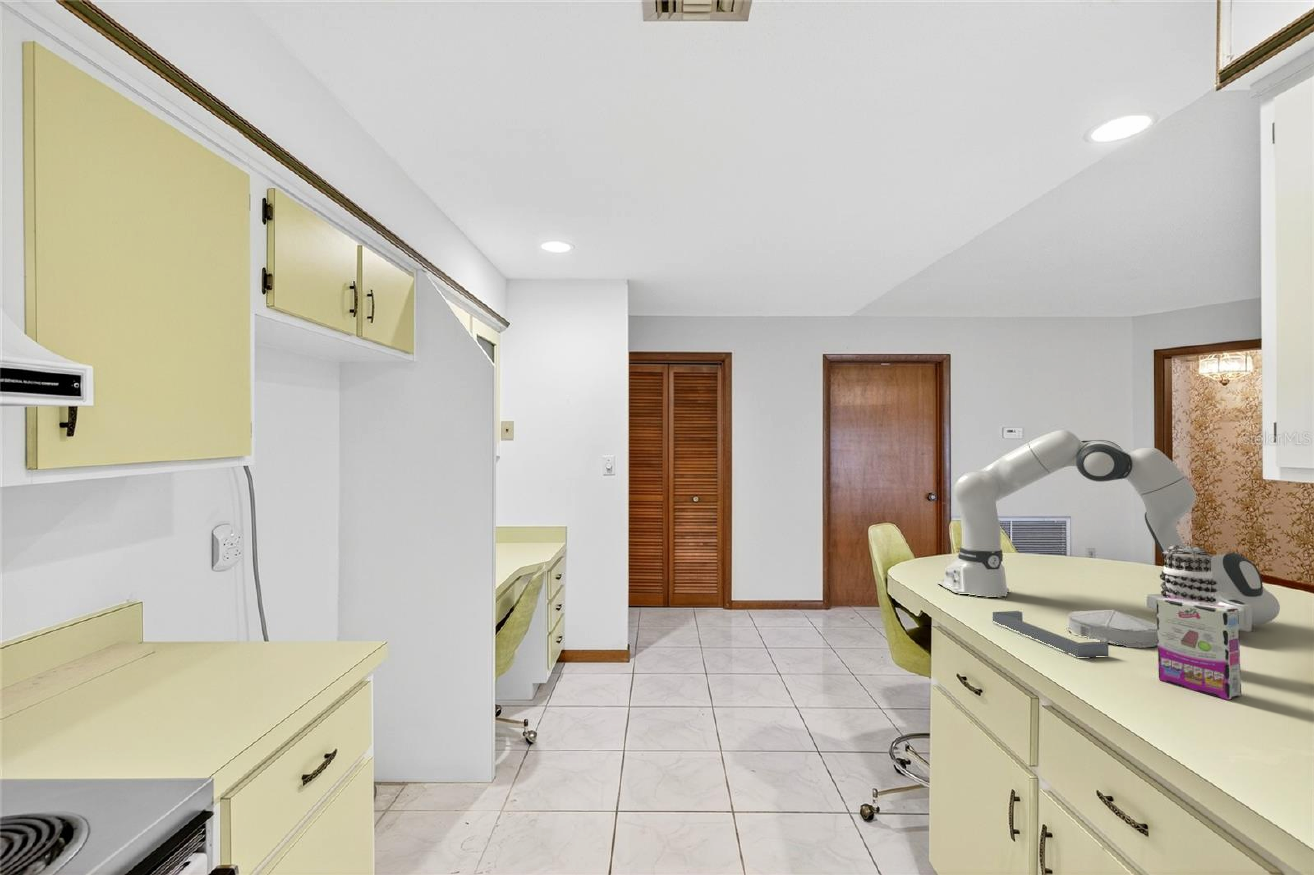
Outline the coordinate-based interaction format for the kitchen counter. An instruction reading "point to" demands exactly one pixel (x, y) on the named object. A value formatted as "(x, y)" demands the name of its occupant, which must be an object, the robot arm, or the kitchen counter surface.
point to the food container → (1114, 628)
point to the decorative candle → (1188, 574)
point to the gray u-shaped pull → (1050, 636)
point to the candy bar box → (1199, 646)
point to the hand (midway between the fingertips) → (1166, 611)
